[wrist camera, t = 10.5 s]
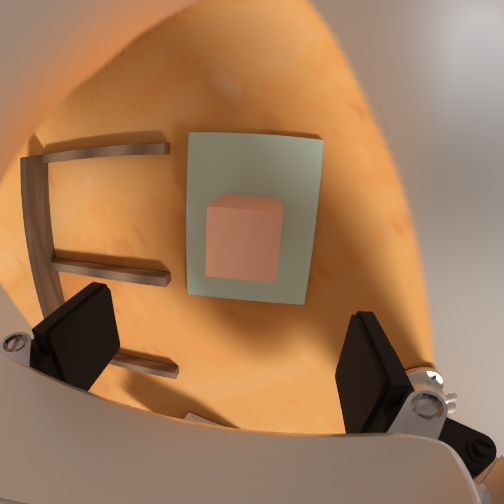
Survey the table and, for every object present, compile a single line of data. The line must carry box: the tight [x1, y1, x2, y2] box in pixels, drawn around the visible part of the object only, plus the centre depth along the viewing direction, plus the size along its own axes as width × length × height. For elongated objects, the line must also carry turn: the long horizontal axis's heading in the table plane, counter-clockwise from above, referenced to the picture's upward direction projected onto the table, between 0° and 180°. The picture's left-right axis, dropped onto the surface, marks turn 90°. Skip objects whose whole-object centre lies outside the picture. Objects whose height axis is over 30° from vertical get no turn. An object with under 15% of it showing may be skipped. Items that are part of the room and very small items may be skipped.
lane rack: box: [20, 143, 179, 379], centre depth 27 cm, size 18×27×4 cm, turn 176°
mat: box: [186, 132, 324, 305], centre depth 26 cm, size 12×16×1 cm
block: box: [205, 193, 283, 283], centre depth 22 cm, size 5×5×7 cm
